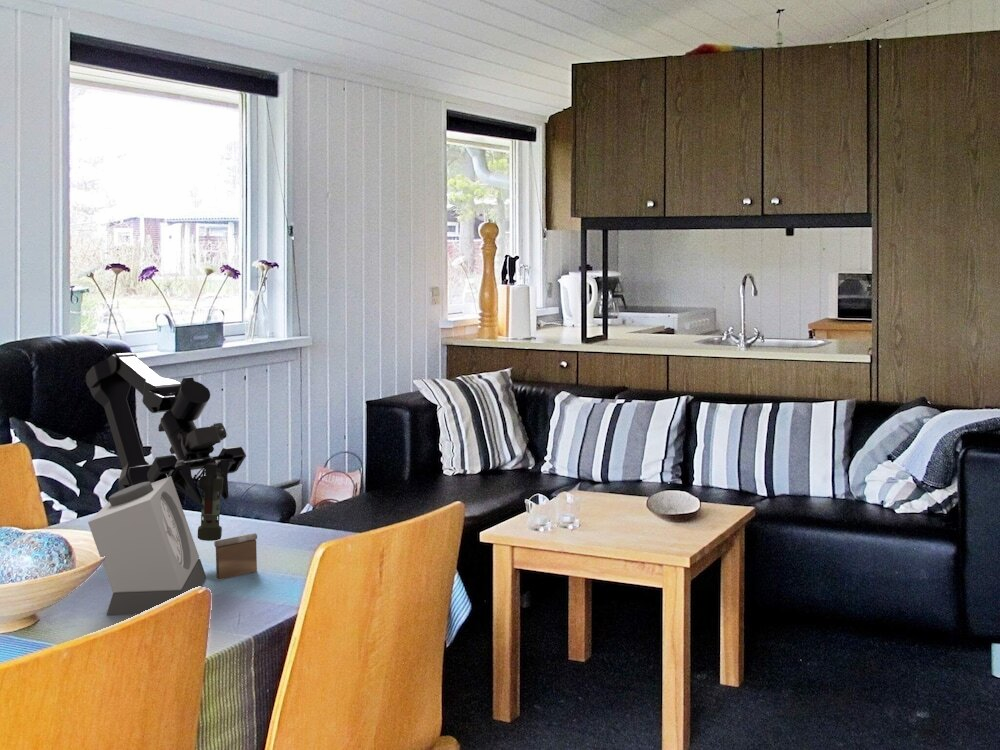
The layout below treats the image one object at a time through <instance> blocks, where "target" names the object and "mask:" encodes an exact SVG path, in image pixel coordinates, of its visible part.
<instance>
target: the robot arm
mask: <svg viewBox="0 0 1000 750" xmlns="http://www.w3.org/2000/svg"><path fill="white" fill-rule="evenodd" d="M85 384H86V386H87V388H88V389H89V391H90V393H91V396H92V398H93V399H94V400H95V401H96V402H97V403H98V404H100V405H101V406H102V407H103V409H104V412H105V415H106V419H107V422H108V425H109V428H110V432H111V435H112V438H113V442H114V445H115V449H116V452H117V455H118V458H119V462H120V465H121V473H120V475H119V477H118V481H117V484H118V490H117V492H118V491H121V490H123V489H125V488H128V487H130V486H133V485H136V484H139V483H143V482H148V481H149V482H150V483H153V482H156V481H159V480H162V479H164V478H167V477H170V476H171V477H172V480H173V483H174V486H175V489H176V490H178V491H179V492H181V493H183V494H184V495H186V496H187V497H188V498H190V499H192V500H193V501H194V502H195V503H197V504H198V505H202V501H203V500H202V493H200V491H199V490H200V489H199V488H198V487H197V486H196V484H195V482H196V481H194V480H193V476H192V471H197V470H201V469H202V468H203V466H206V464H207V463H219V465H220V464H221V465H220V468H219V467H218V465H217V470H218V468H219V470H220V471H221V472H223V473H224V474H225V475H224V474H223V473H221V472H217V476H221V477H223V478H224V481H223V489H222V490H220V497H222V498H223V500H225V501H226V500H227V499H229V484H228V483H229V482H228V479H229V478H228V477H229V476H228V475H229V474H233V473H235V472H238V470H239V468H240V467H241V465H242V464H243V462H244V460H245V459H246V457H247V454H246V452H245V450H244V449H243V447H242V446H239V445H237V446H229V447H222V449H221V451H220V453H218V455H216V456H215V455H214V456H211V455H210V454H211V453H213V452H214V451H215V447H214V446H215V445H216V444H220V443H221V441H222V440H224V439H226V438H227V435H228V434H227V430H226V427H225V426H224V424H223V422H215V423H213V424H212V425H210V426H205V427H204V426H203V427H197V426H196V424H195V422H194V421H197V419H199V418H200V417H201V414H202V412H203V411H204V409H205V407H206V406H207V404H208V402H209V401H210V399H211V392H210V391H211V390H210V389H209V388H208V387H207V386H206V385H204V384H203V383H202V382H199V381H195V379H194V377H193V376H191V377H183V378H182V380H181V382H179V381H178V380H174V379H173V378H166V377H162V376H161V375H158V374H157V373H156V372H155V371H154V370H153V369H151V368H149V366H148V365H146V364H145V363H143V362H142V361H141V360H140V359H139V358H138V356H137V354H136V353H134V352H133V353H132V352H122V353H121V352H119V353H114V354H111V355H110V356H109V357H108V358H106V359H105V360H103V361H100V362H97V363H96V364H94V365H92V366H91V368H89V370H87V372H86V375H85ZM131 387H133V388H134V389H135V390H136V391H138V392H139V393H140V394H141V395H142V404H143V405H144V406H145V408H147V410H148V411H149V412H150V413H152V414H157V413H163V415H162V417H161V418H160V422H159V424H158V427H157V428H158V432H159V433H161V432H162V433H163V432H164V433H165V435H166V437H167V439H168V441H169V444H170V445H171V446H170V448H169V452H170V455H164V456H163V455H162V456H156V457H154V459H153V461H152V463H151V464H150V463H149V462H148V461H147V460H146V458H145V455H144V452H143V448H142V445H141V443H140V442H141V441H140V439H139V436H138V432H137V429H136V426H135V422H134V419H133V416H132V413H131V409H130V406H129V402H128V397H129V393H130V390H131ZM202 470H203V469H202ZM219 470H218V471H219Z"/></svg>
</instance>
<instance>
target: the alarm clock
mask: <svg viewBox="0 0 1000 750" xmlns="http://www.w3.org/2000/svg"><path fill="white" fill-rule="evenodd" d="M87 524H88V526H89V528H90V532H91V535H92V537H93V538H92V539H93V541H94V544H95V546H96V549H97V551H98V555H99V558H100V557H104V556H105V557H107V558H106V559H105V561H104V562H103V563H102V562H101V563H102V566H103V569H104V571H105V574H106V578H107V581H108V583H109V586H110V588H111V592H112V595H111V598H110V603H109V605H108V608H107V613H106V616H122V615H124V616H126V615H139V614H138V613H141V612H143V611H145V610H148V609H150V608H152V607H154V606H156V605H159V604H161V603H163V602H165V601H167V600H169V599H171V598H174V597H176V596H178V595H180V594H182V593H184V592H186V591H188V590H190V589H192V588H195V587H198V586H202V587H203V585H204V584H205V581H206V579H207V575H206V573H205V572H206V571H205V570H204V567H203V563H202V560H201V558H200V555H199V553H198V550H197V546H196V544H195V541H194V538H193V535H192V532H191V529H190V526H189V524H188V521H187V517H186V515H185V512H184V510H183V506H182V504H181V501H180V498H179V495H178V492H177V489H176V488H175V486H174V483H173V480H172V477H171V476H170V477H168V476H167V478H164V479H162V480H159V481H156V482H153V483H150V482H149V481H148V482H143V483H139V484H136V485H133V486H130V487H128V488H125V489H123V490H121V491H118V490H117V491H116V492H114V493H112V494H111V495H110V496H109V497H108V502H107V503H106V504H105V505H104V506H103V507H102V508H101V509H100V510H99V511H98V512H96V514H94V515H93V517H92V518H90V519H89V520H88V522H87ZM135 613H136V614H135Z"/></svg>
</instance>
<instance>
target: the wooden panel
mask: <svg viewBox="0 0 1000 750" xmlns="http://www.w3.org/2000/svg"><path fill="white" fill-rule="evenodd" d="M257 540H258V534H257V533H256V532H255V533H249V534H244V535H239V536H233V537H230V538H224V539H219V540H215V541H214V547H215V567H216V569H215V570H216V572H215V573H216V579H217V580H219V581H221V580H223V579H228V578H233V577H237V576H242V575H246V574H249V573H251V574H252V573H254V572H258V563H257V562H258V561H257V560H258V559H257V558H258V555H257V554H258V553H257Z"/></svg>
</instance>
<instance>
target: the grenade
mask: <svg viewBox="0 0 1000 750" xmlns="http://www.w3.org/2000/svg"><path fill="white" fill-rule="evenodd" d="M217 465H218V467H219V468H220V465H221V464H220V465H219V463H207V464H206V466H203V468H202V469H199V471H198V472H197V474H194V475H193V476H192V478H193V480H194V482H195V484H196V486H197V488H198V489H199V490H201V497H202V500H203V501H202V503H201V509H200V510H201V511H200V512H201V513H200V514H201V515H200V525H199V526H198V528H197V539H199V540H200V541H206V542H210V541H211V542H213V541H214V542H215V541H218V540H222V539H221V538H222V535H223V534H222V533H223V527H222V526H221V525H220V512H221V510H220V509H221V508H220V507H221V494H220V490H222V489H223V481H224V478H223V477H221V476H217V472H221V471H220V470H219V468H218V470H219V471H218V470H217ZM201 471H202V472H201ZM221 473H223V472H221ZM223 474H224V473H223ZM224 475H225V474H224ZM198 482H199V483H198Z"/></svg>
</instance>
